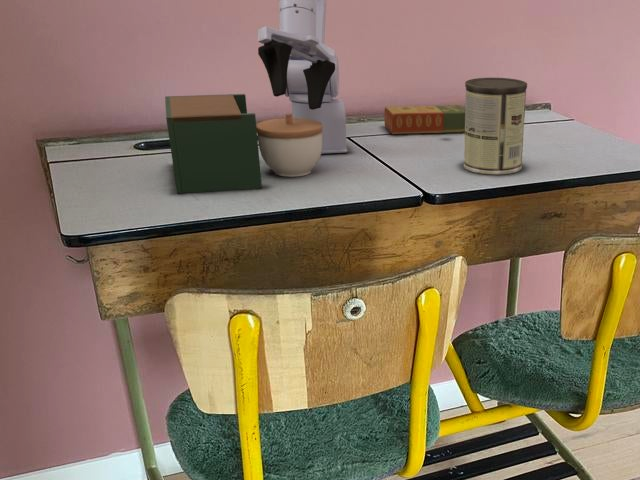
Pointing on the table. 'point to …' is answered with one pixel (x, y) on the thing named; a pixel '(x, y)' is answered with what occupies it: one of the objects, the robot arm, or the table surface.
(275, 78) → the robot arm
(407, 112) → the carton
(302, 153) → the trinket box
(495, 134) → the coffee can
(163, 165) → the table surface
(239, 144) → the cabinet
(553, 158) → the table surface
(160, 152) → the table surface
